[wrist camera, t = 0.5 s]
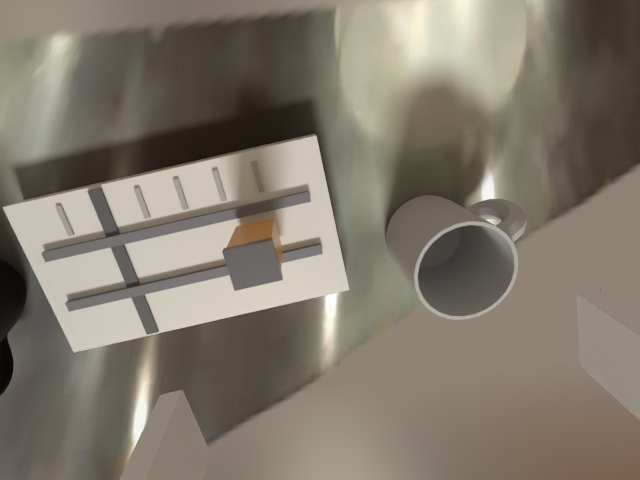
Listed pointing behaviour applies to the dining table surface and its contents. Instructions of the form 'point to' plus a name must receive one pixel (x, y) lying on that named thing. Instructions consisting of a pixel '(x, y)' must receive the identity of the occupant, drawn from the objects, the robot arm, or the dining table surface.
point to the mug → (8, 317)
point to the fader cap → (254, 254)
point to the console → (179, 242)
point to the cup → (456, 252)
